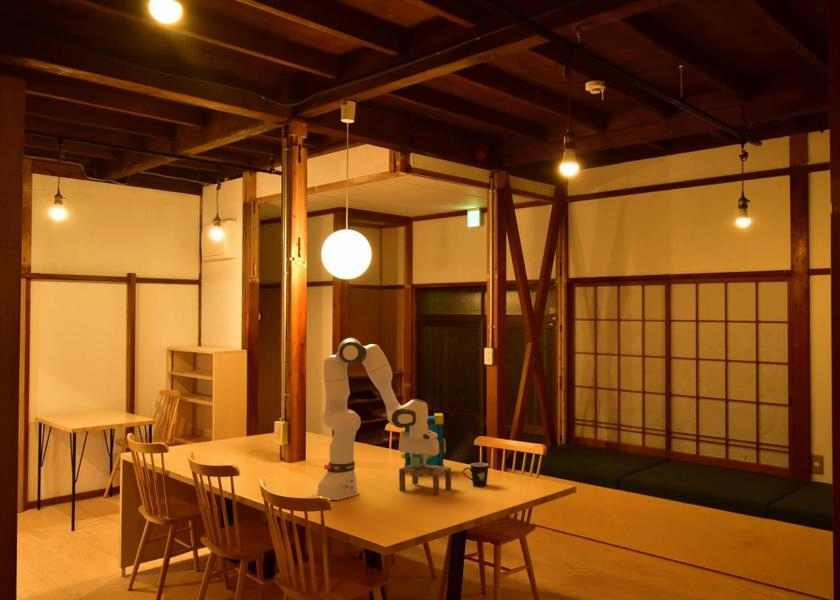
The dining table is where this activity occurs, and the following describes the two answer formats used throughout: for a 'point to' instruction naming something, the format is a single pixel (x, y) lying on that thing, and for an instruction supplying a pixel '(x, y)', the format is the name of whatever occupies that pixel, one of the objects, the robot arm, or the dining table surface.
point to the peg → (418, 463)
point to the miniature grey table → (426, 471)
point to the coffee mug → (478, 474)
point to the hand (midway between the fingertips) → (418, 463)
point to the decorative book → (436, 426)
